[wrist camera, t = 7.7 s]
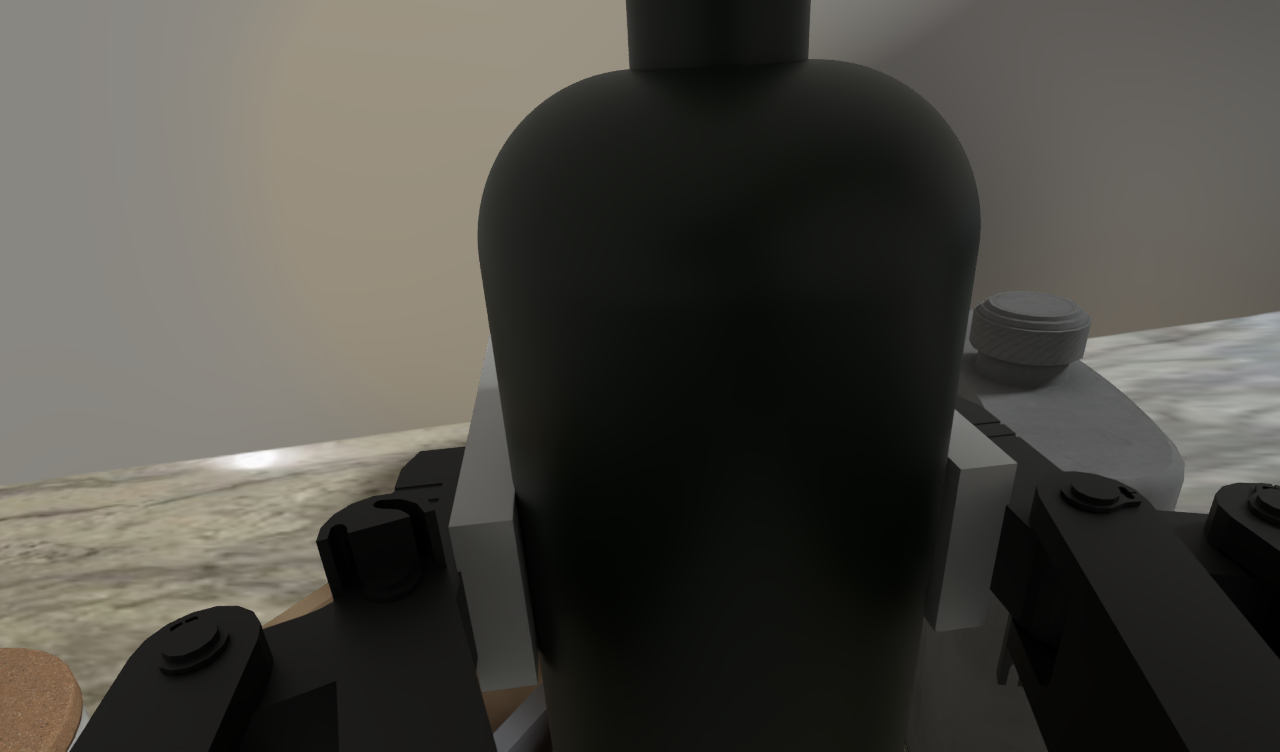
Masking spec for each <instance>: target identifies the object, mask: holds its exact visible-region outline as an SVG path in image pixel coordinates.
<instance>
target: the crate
mask: <svg viewBox="0 0 1280 752" xmlns="http://www.w3.org/2000/svg"><path fill="white" fill-rule="evenodd" d="M331 602H333V597H332V593H331V590H330V587H329V583H327V584H325V585H324V586H322V587H321V588H319V589H318V590H316V591H315V592H313V593H312V594H310V595H309V596H307V597H306V598H304V599H303V600H301V601H300V602H298V603H297V604H295V605H294V606H292V607H291V608H289V609H288V610H286V611H285V612H283V613H282V614H280V615H279V616H277V617H276V618H274V619H273V620H271V621H270V622H268V623H267V624H265V625H264V626H262V629H264V628H267V627H270V626H273V625H276V624H279V623H282V622H285V621H288V620H291V619H294V618H297V617H300V616H303V615H306V614H308V613H311V612H313V611H315V610H318V609H320V608H322V607H324V606H326V605H328V604H329V603H331ZM476 674H477V678H478V682H479V685H480V681H479V677H478V672H477V669H476ZM480 689H481V686H480ZM481 693H482V696H483V700H484V703H485V707H486V711H487V714H488V718H489V722H490V725H491V729H492V733H493V736H494V740H495V744H496V747H497V751H498V752H553V747H552V740H551V734H550V727H549V720H548V714H547V707H546V700H545V694H544V687H543V680H542V674H541V667H540V660H539V654H538V685H532V686H524V687H517V688H509V689H502V690H494V691H487V692H482V691H481Z"/></svg>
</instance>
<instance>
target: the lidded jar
mask: <svg viewBox="0 0 1280 752" xmlns="http://www.w3.org/2000/svg"><path fill="white" fill-rule="evenodd" d="M89 720H90V716H89V714H88V712H87V710H86V708H85V706H84V704H83V700H82V694H81V690H80V687H79V685H78V682H77V681H76V679H75V677H74V675H73V673H72V672H71V670H70V668H69V666H68V665H67V664H65V663H64V662H63V661H62V660H60V659H59V658H58V657H56V656H53V655H51V654H48V653H46V652H43V651H38V650H31V649H25V648H0V752H69V751H70V750H71V748H72V747H73V745H74V743H75V742H76V740H77V739H78V737H79V736H80V734H81V732H82V731H83V729H84V728H85V726H86V725H87V723H88V722H89Z"/></svg>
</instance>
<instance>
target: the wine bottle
mask: <svg viewBox="0 0 1280 752" xmlns="http://www.w3.org/2000/svg"><path fill="white" fill-rule="evenodd" d="M810 3H811V0H626V10H627V28H628V47H629V65H630V69H627V70H619V71H613V72H608V73H603V74H600V75H596V76H592V77H589V78H586V79H584V80H581V81H579V82H576V83H574V84H572V85H570V86H568V87H566V88H564V89H562V90H560V91H559V92H557V93H555V94H554V95H552V96H551V97H549V98H548V99H546V100H545V101H544V102H543V103H541V104H540V105H539V106H537V107H536V108H535V109H534V110H533V111H532V112H531V113H530V114H529V115H527V116H526V118H525V119H524V120H523V121H522V122H521V123H520V124H519V125H518V126H517V128H516V129H515V130H514V131H513V132H512V134H511V135H510V136H509V138H508V140H507V141H506V142H505V144H504V146H503V147H502V149H501V150H500V152H499V154H498V156H497V158H496V160H495V162H494V164H493V166H492V168H491V171H490V173H489V176H488V179H487V182H486V184H485V188H484V192H483V195H482V200H481V205H480V211H479V219H478V252H479V261H480V268H481V274H482V280H483V288H484V294H485V300H486V307H487V314H488V321H489V328H490V334H491V341H492V347H493V354H494V361H495V367H496V374H497V381H498V387H499V394H500V401H501V407H502V414H503V421H504V427H505V434H506V441H507V447H508V454H509V461H510V467H511V474H512V480H513V485H514V488H515V494H516V501H517V507H518V514H519V521H520V527H521V534H522V541H523V547H524V554H525V561H526V567H527V574H528V581H529V587H530V594H531V601H532V608H533V614H534V621H535V628H536V634H537V641H538V654H539V660H540V667H541V674H542V680H543V687H544V694H545V700H546V707H547V714H548V720H549V727H550V734H551V740H552V747H553V752H904V745H905V739H906V732H907V725H908V719H909V712H910V705H911V698H912V692H913V685H914V678H915V672H916V665H917V658H918V652H919V645H920V638H921V632H922V625H923V618H924V612H925V605H926V598H927V591H928V585H929V578H930V571H931V565H932V558H933V551H934V545H935V538H936V531H937V525H938V518H939V511H940V505H941V498H942V491H943V484H944V478H945V471H946V464H947V458H948V451H949V444H950V438H951V431H952V424H953V418H954V411H955V404H956V397H957V391H958V384H959V377H960V371H961V364H962V357H963V351H964V344H965V337H966V331H967V324H968V317H969V311H970V303H971V297H972V290H973V284H974V277H975V270H976V263H977V256H978V250H979V243H980V229H981V219H980V204H979V197H978V191H977V186H976V182H975V178H974V175H973V172H972V168H971V166H970V163H969V160H968V158H967V156H966V153H965V151H964V149H963V147H962V145H961V143H960V142H959V140H958V138H957V137H956V135H955V134H954V132H953V130H952V129H951V127H950V126H949V125H948V123H947V122H946V121H945V120H944V118H943V117H942V116H941V115H940V114H939V112H938V111H937V110H936V109H935V108H934V107H933V106H932V105H931V104H930V103H929V102H928V101H926V100H925V99H924V98H923V97H922V96H920V95H919V94H918V93H917V92H915V91H914V90H913V89H911V88H909V87H908V86H907V85H905V84H903V83H902V82H900V81H898V80H897V79H894V78H893V77H891V76H889V75H886V74H884V73H882V72H880V71H877V70H874V69H872V68H869V67H865V66H862V65H858V64H854V63H849V62H843V61H835V60H822V59H808V48H809V25H810Z"/></svg>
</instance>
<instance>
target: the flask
mask: <svg viewBox="0 0 1280 752" xmlns="http://www.w3.org/2000/svg"><path fill="white" fill-rule="evenodd" d="M1091 320H1092V319H1091V318H1090V317H1089V316H1088V315H1087V314H1086V312H1085V311H1084V310H1082V308H1081V307H1079V306H1078V305H1077V304H1076V303H1075V302H1073V301H1071V300H1068V299H1066V298H1063V297H1059V296H1055V295H1051V294H1045V293H1037V292H1020V291H1019V292H1018V291H1017V292H1016V291H1014V292H1004V293H999V294H996V295H993V296H991V297H990V298H987V299H985V300H984V302H981V303H978V304H977V306H976V307H975V308H974V310H970V311H969V317H968V324H967V331H966V337H965V344H964V351H963V357H962V364H961V371H960V377H959V384H958V391H957V396H960V397H962V398H964V399H967V400H969V401H971V402H974V403H976V404H978V405H980V406H982V407H984V408H985V409H986V410H987V411H989V412H990V413H991V414H992V415H994V416H995V417H996V418H997V419H998V420H1000V423H1001V424H1005V425H1006V426H1007V427H1008V428H1010V429H1011V430H1012V431H1013V432H1015V433H1016V437H1021V438H1022V439H1023V440H1025V441H1026V442H1027V443H1028V444H1030V445H1031V446H1032V447H1033V448H1035V449H1036V450H1037V451H1038V452H1040V453H1041V454H1042V455H1043V456H1045V457H1046V458H1047V459H1048V460H1050V461H1051V462H1052V463H1053V464H1055V465H1056V466H1057V467H1058V468H1060V469H1061V470H1062V471H1063V472H1066V471H1078V472H1085V473H1093V474H1097V475H1101V476H1104V477H1107V478H1111V479H1114V480H1117V481H1119V482H1121V483H1123V484H1125V485H1127V486H1129V487H1131V488H1133V489H1135V490H1137V491H1138V492H1139V493H1140V494H1141V495H1142V496H1144V497H1145V498H1146V499H1147V500H1148V501H1149V502H1150V503H1151V504H1152V505H1153V507H1154V508H1155V509H1156V510H1162V511H1174V509H1175V506H1176V503H1177V500H1178V497H1179V493H1180V490H1181V487H1182V484H1183V481H1184V466H1185V463H1184V461H1183V459H1182V457H1181V455H1180V453H1179V451H1178V449H1177V447H1176V445H1175V444H1174V443H1173V442H1172V441H1171V440H1170V439H1169V438H1168V436H1167V435H1166V434H1165V433H1164V432H1163V431H1162V430H1161V429H1160V428H1159V426H1158V425H1157V424H1156V423H1155V422H1154V421H1153V420H1152V419H1151V418H1150V417H1148V416H1147V415H1146V414H1145V413H1144V412H1143V411H1142V410H1141V409H1140V408H1139V407H1138V406H1137V405H1136V404H1135V403H1134V402H1133V401H1131V400H1130V399H1129V398H1128V397H1127V396H1126V395H1125V394H1124V393H1122V392H1121V391H1120V390H1119V389H1117V388H1116V387H1115V386H1114V385H1113V384H1111V383H1110V382H1109V381H1108V380H1106V379H1105V378H1104V377H1102V376H1101V375H1100V374H1098V373H1097V372H1095V371H1094V370H1093V369H1091V368H1090V367H1089V366H1087V365H1086V364H1084V363H1083V362H1081V361H1080V360H1079V359H1082V358H1083V354H1084V351H1085V346H1086V342H1087V338H1088V333H1089V329H1090V325H1091ZM1008 615H1009V612H1008V611H1007V609H1006V608H1005V607H1004V606H1003V605H1002V603H1001V602H1000V601H999V600H998V599H997V597H996V596H995V595H994V594H993V593H992V594H991V599H990V604H989V609H988V614H987V619H986V624H985V626H978V627H970V628H963V629H955V630H947V631H940V632H935V631H934V630H933V628H932V627H931V626H930V624H929V623H928V621H927V620H926V618H925V617H924V618H923V625H922V632H921V638H920V645H919V652H918V658H917V665H916V672H915V678H914V685H913V692H912V698H911V705H910V712H909V719H908V725H907V732H906V739H905V741H906V744H907V747H908V751H909V752H1048V750H1047V748H1046V745H1045V743H1044V740H1043V737H1042V735H1041V732H1040V730H1039V727H1038V725H1037V722H1036V719H1035V717H1034V714H1033V712H1032V709H1031V707H1030V704H1029V701H1028V699H1027V696H1026V694H1025V691H1024V689H1023V687H1019V686H1018V680H1019V676H1018V673H1017V671H1016V668H1015V665H1014V664H1013V665H1012V666H1011V667H1010V669H1009V674H1008V678H1007V683H1006V685H998V684H997V674H996V671H997V666H998V661H999V657H1000V652H1001V648H1002V643H1003V638H1004V634H1005V629H1006V624H1007V620H1008Z"/></svg>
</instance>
